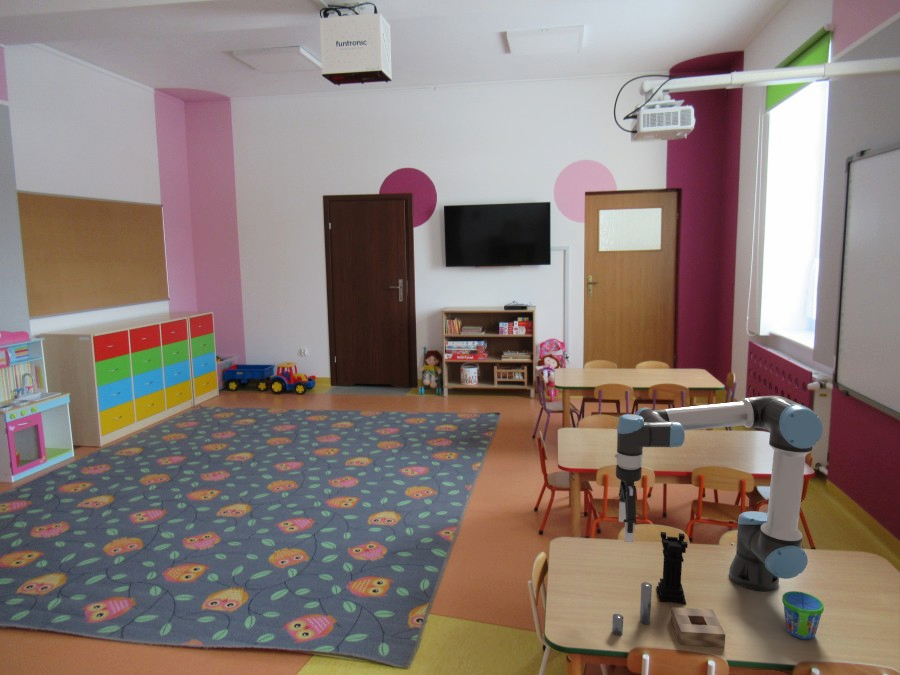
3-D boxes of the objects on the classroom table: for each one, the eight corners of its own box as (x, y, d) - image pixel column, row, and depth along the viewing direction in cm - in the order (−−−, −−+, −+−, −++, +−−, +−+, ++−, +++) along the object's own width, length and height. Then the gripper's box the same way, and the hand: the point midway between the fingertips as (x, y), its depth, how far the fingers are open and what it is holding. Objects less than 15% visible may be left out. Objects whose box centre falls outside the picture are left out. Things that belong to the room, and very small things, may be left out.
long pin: (649, 619, 192) (650, 582, 190) (651, 625, 189) (652, 588, 187) (638, 618, 192) (640, 582, 190) (640, 624, 189) (642, 587, 187)
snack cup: (782, 613, 194) (785, 583, 192) (822, 624, 188) (825, 593, 187) (776, 640, 181) (779, 608, 179) (819, 653, 175) (822, 620, 174)
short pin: (621, 629, 187) (622, 614, 186) (623, 635, 184) (624, 620, 183) (611, 629, 187) (612, 613, 186) (612, 635, 184) (613, 619, 183)
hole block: (711, 621, 190) (712, 609, 190) (724, 647, 178) (725, 634, 178) (670, 619, 191) (671, 607, 191) (680, 644, 180) (681, 631, 179)
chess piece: (685, 604, 199) (689, 545, 196) (659, 601, 201) (662, 542, 198) (681, 590, 207) (685, 533, 204) (656, 588, 209) (659, 531, 205)
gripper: (611, 451, 205) (609, 513, 208) (621, 480, 181) (618, 549, 184) (635, 452, 204) (632, 514, 207) (648, 481, 179) (645, 551, 183)
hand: (626, 531), depth 196 cm, fingers open, 13 cm apart
